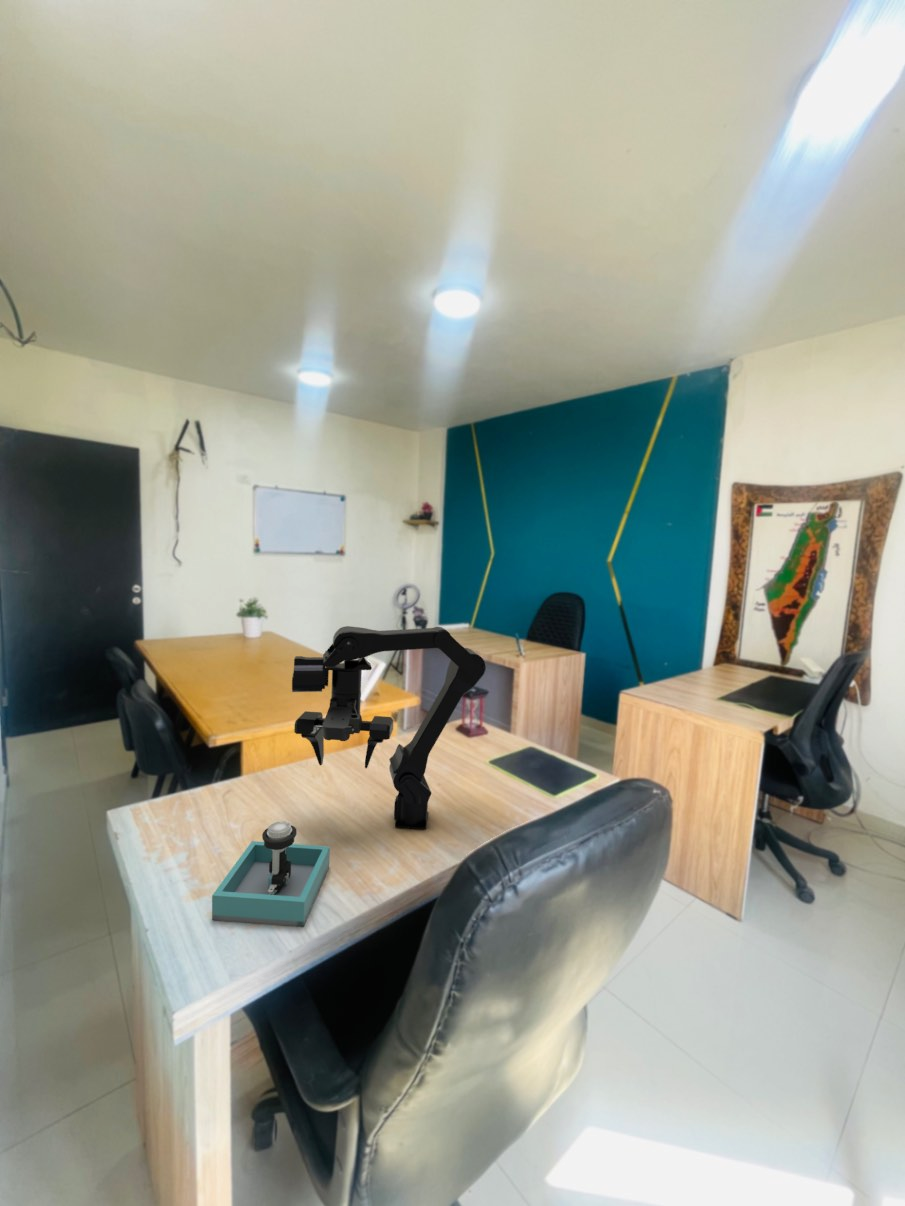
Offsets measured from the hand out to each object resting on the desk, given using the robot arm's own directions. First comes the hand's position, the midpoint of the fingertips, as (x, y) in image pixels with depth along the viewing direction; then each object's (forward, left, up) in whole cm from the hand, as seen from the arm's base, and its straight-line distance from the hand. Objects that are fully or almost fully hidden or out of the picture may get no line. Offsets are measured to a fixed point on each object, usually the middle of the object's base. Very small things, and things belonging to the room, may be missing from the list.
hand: (343, 766), depth 101 cm
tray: (+6, +20, -13) cm, 25 cm away
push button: (+6, +20, -12) cm, 24 cm away
